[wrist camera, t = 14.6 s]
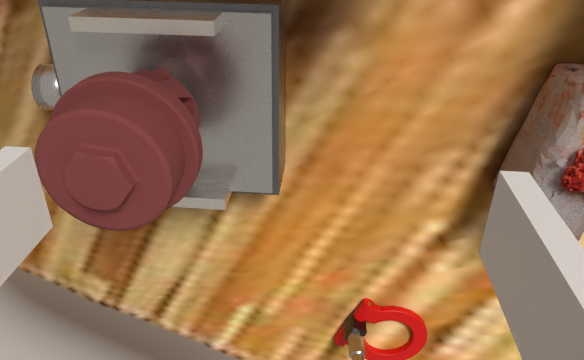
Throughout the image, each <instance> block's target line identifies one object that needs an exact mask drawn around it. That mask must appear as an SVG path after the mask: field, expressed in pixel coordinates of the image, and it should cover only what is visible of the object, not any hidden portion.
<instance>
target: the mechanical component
mask: <svg viewBox="0 0 584 360" xmlns="http://www.w3.org/2000/svg"><path fill="white" fill-rule="evenodd" d="M199 122H200V118H199V111H198V107H197V105H196V102H195V100H194V98H193V97H192V95H191V93H190V92H189V91H188V90H187V89H186V87H185V86H184V85H182V84H181V83H180V82H179V81H178V80H176V79H174V78H173V77H172V74H171V73H170V71H169V70H167V69H166V68H163V67H158V68H156V69H154V70H153V71H150V70H145V71H138V72H134V73H127V72H104V73H98V74H95V75H92V76H89V77H87V78H85V79H83V80H82V81H80V82H78V83H77V84H76V85H74V86H73V87H71V88H70V89H69V90H67V91H66V92H65V93H64V94H63V95H62V96H61V97H60V98H59V100H58V101H57V103H56V104H55V106H54V108H53V111H52V113H51V116H50V120H49V123H48V124H47V125H46V127H45V128H44V129H43V130H42V132H41V134H40V136H39V138H38V141H37V145H36V150H35V161H36V168H37V171H38V175H39V177H40V180H41V182H42V184H43V186H44V187H45V189H46V190H47V192H48V194H49V195H50V196H51V197H52V198H53V200H54V201H55V202H56V203H57V204H58V205H59V206H60V207H61V208H62V209H63V210H65V211H66V212H68V213H69V214H70V215H72V216H73V217H75V218H77V219H78V220H80V221H82V222H84V223H87V224H89V225H91V226H94V227H98V228H101V229H107V230H115V231H124V230H132V229H137V228H140V227H143V226H145V225H148V224H149V223H151V222H152V221H154V220H155V219H156V218H157V217H159V216H160V215H161V214H162V212H163V211H164V210H165V209H168V208H169V207H171V206H173V205H175V204H176V203H178V202H179V201H180V200H182V199H183V197H184V196H185V195H186V194H187V193H188V192H189V190H190V189H191V187H192V186H193V184H194V182H195V180H196V178H197V176H198V173H199V171H200V168H201V164H202V159H203V146H202V139H201V136H200V132H199Z"/></svg>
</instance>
